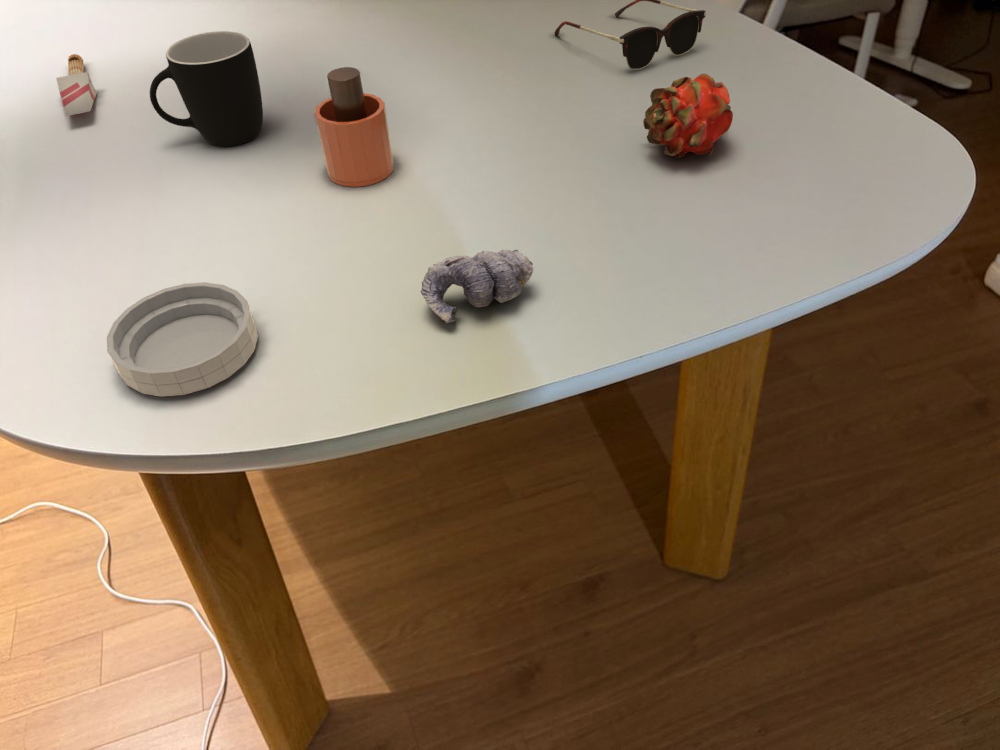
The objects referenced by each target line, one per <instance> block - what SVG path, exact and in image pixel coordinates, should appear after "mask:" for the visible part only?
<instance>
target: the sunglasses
mask: <svg viewBox="0 0 1000 750" xmlns="http://www.w3.org/2000/svg"><path fill="white" fill-rule="evenodd" d="M639 2H649V3H654V4H657V5H662V6H666V7H670V8H674V9H678V10H681V11H685V12H684V13H681V14H680V15H678V16H676V17H675V18H673V19H672V20H670V21H669V22H668V23H667V25H666V26H665V27H664V28H662V29H660V28H658V27H656V26H641V27H637V28H634V29H631V30H630V31H628V32H626V33H624V34H622V35H621V36H619V37H618V36H615V35H611V34H607V33H603V32H600V31H597V30H594V29H591V28H588V27H586V26H582V25H581V24H577V23H574V22H571V21H567V20H566V21H562V22H561V23H560V24H559V25H558V26H557V28H555V31H554V35H555V37H558V36H559V35H560V32H561V29H562V28H563V27H564V26H565V25H566V26H570V27H573V28H575V29H579V30H582V31H586V32H588V33H591V34H594V35H598V36H600V37H603V38H607V39H610V40H611V41H615V42H618V43H619V44H620V45H621V48H622V49H621V50H622V57H625V60H626V65H627V67H628V69H630V70H641V69H644V68H646V67H648V66H649V65H650V64H651V62H652V61H653V59H654V57H655V54H656V53H658V52H659V49H660V46H661V43H662V40H663V38H664V42H665V45H666V47H667V48H669V50H670V52H671V54H672V55H674V56H677V57H678V56H682V55H684V54H686V53H688V52H689V51H691V50H692V49H693V48H694V46H695V45H696V42H697V38H698V33H701V32H702V27H703V21H704V18H706V16H707V11H706V10H704V9H702V10H701V9H700V10H699V9H695V8H689V7H686V6H685V7H684V6H680V5H677V4H672V3H669V2H666V1H662V0H634V1H632V2H630V3H627V5H624V6H623V7H621V8H620V9H619V10H617V11H616V12H615V13H614V16H615V17H616V18H619V17H620V16H621V15H622V14H623V13H624V12H625V10H627V9H629V8H630V7H632V6H634V5H635V4H638V3H639Z"/></svg>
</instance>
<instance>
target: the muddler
mask: <svg viewBox="0 0 1000 750" xmlns="http://www.w3.org/2000/svg"><path fill="white" fill-rule="evenodd" d="M326 79H327V83H328V89H329V92H330V98H332V103H333V108H334V113H335V118H336V122H350V121H357V120H361V119H364V118H367V112H366V106H365V100H364V94H363V93H364V89H363V82H362V78H361V71H360V70H359V69H358V68H355V67H351V66H349V67H348V66H344V67H338V68H335V69H332V70H330V71H329V72H328V73H327V75H326Z"/></svg>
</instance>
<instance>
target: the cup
mask: <svg viewBox="0 0 1000 750" xmlns="http://www.w3.org/2000/svg"><path fill="white" fill-rule="evenodd" d="M363 94H364V100H365V106H366V112H367V118H364V119H361V120H357V121H350V122H336V118H335V113H334V108H333V103H332V98H331V97H328V98H327V99H324V100H323V101H321V102H320V103H319V104H318V105H317V106H315V109H314V117H315V123H316V127H317V132H318V136H319V140H320V141H319V142H320V144H321V149H322V154H323V159H324V164H325V168H326V171H327V175H328V178H329V179H330V180H331V181H332V182H333V183H334V184H337V185H339V186H343V187H349V188H350V187H351V188H359V187H360V188H361V187H366V186H371V185H374V184H377V183H380V182H382V181H384V180H385V179H386V178H388V177H389V176H390V175H391V174H392V173H393V171H394V158H393V150H392V143H391V137H390V129H389V124H388V118H387V112H386V106H385V102H384V101H383V100H382V97H379V96H377V95H375V94H373V93H372V94H371V93H367V92H363Z"/></svg>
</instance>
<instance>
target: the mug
mask: <svg viewBox="0 0 1000 750" xmlns="http://www.w3.org/2000/svg"><path fill="white" fill-rule="evenodd" d="M165 58H166V61H167V64H168V65H167V67H166V68H164V69H163V70H161V71H160V72H158V74H156V76H155V77H154V78H153V79H152V81H151V83H150V87H149V99H150V103H151V105H152V108H153V109H154V111H155V112H156V114H158V116H159V117H160V118H162V119H163V120H164V121H166V122H168V123H169V124H172V125H174V126H179V127H183V128H184V127H186V128H192V129H195V130H196V131H198V133H199V134H200V135H201V136H202V137H203V139H204V140H206V142H207V143H209V144H211V145H213V146H216V147H235V146H240V145H243V144H246V143H249V142H251V141H252V140H254V139H256V138H257V137H258V136H259V135H260V133H261V132H262V128H263V125H264V109H263V100H262V91H261V84H260V79H259V74H258V68H257V63H256V59H255V54H254V50H253V46H252V42H251V40H250V38H249V37H248V36H247V35H245V34H243V33H241V32H237V31H229V30H220V31H218V30H217V31H208V32H202V33H197V34H193V35H190V36H187V37H184V38H181V39H180V40H178V41H175V42H174V43H173V44H171V45H170V46H169V47H168V49H167V50H166V52H165ZM166 79H171V80H172V81H173V82H174V84H175V86H176V88H177V90H178V93H179V95H180V97H181V99H182V101H183V104H184V106H185V108H186V110H187V112H188V114H189V116H188V117H186V118H180V117H175V116H174V115H173V116H172V115H171V114H169V113H167V112H166V111H165V110H164V109H163V108H162V107H161V105H160V104H159V101H158V98H157V91H158V87H159V86H160V84H161V83H162V82H164V80H166Z"/></svg>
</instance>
